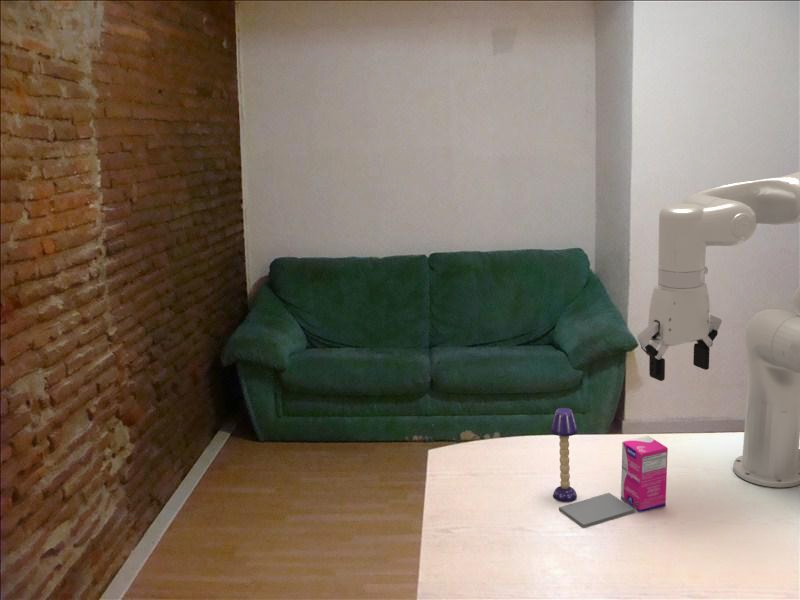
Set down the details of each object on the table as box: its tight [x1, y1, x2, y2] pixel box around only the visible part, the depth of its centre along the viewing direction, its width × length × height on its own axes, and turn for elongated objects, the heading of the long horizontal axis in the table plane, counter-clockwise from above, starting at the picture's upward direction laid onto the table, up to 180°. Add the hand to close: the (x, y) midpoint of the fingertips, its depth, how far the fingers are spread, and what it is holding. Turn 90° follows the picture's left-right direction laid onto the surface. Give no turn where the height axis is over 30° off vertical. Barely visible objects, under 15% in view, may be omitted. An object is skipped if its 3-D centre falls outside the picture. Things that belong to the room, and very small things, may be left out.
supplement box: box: [620, 435, 669, 513], centre depth 154 cm, size 6×6×12 cm
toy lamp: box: [550, 407, 578, 503], centre depth 156 cm, size 5×5×17 cm
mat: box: [558, 492, 636, 529], centre depth 153 cm, size 11×7×1 cm, turn 115°
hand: (679, 372), depth 152 cm, fingers open, 9 cm apart
